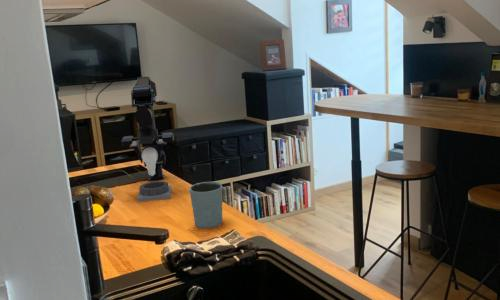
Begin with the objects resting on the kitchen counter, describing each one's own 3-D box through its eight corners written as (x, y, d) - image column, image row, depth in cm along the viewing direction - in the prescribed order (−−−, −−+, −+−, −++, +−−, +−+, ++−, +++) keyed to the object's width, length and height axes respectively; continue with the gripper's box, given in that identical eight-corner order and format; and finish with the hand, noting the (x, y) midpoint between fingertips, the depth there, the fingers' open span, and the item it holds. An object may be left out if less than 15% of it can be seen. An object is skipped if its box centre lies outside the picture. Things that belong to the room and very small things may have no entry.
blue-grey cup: (208, 215, 155) (205, 180, 152) (232, 221, 148) (229, 184, 146) (186, 225, 147) (182, 188, 144) (209, 232, 141) (205, 193, 138)
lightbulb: (162, 173, 181) (159, 145, 179) (157, 177, 176) (154, 148, 173) (146, 174, 182) (143, 146, 180) (141, 178, 176) (138, 149, 174)
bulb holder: (140, 192, 186) (139, 182, 185) (171, 188, 187) (170, 179, 186) (137, 201, 174) (136, 191, 173) (170, 198, 175) (169, 187, 174)
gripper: (116, 126, 166) (122, 169, 169) (170, 121, 168) (175, 164, 171) (120, 121, 176) (126, 162, 180) (171, 117, 178) (175, 157, 182)
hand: (150, 161), depth 178 cm, fingers closed on lightbulb, 6 cm apart
